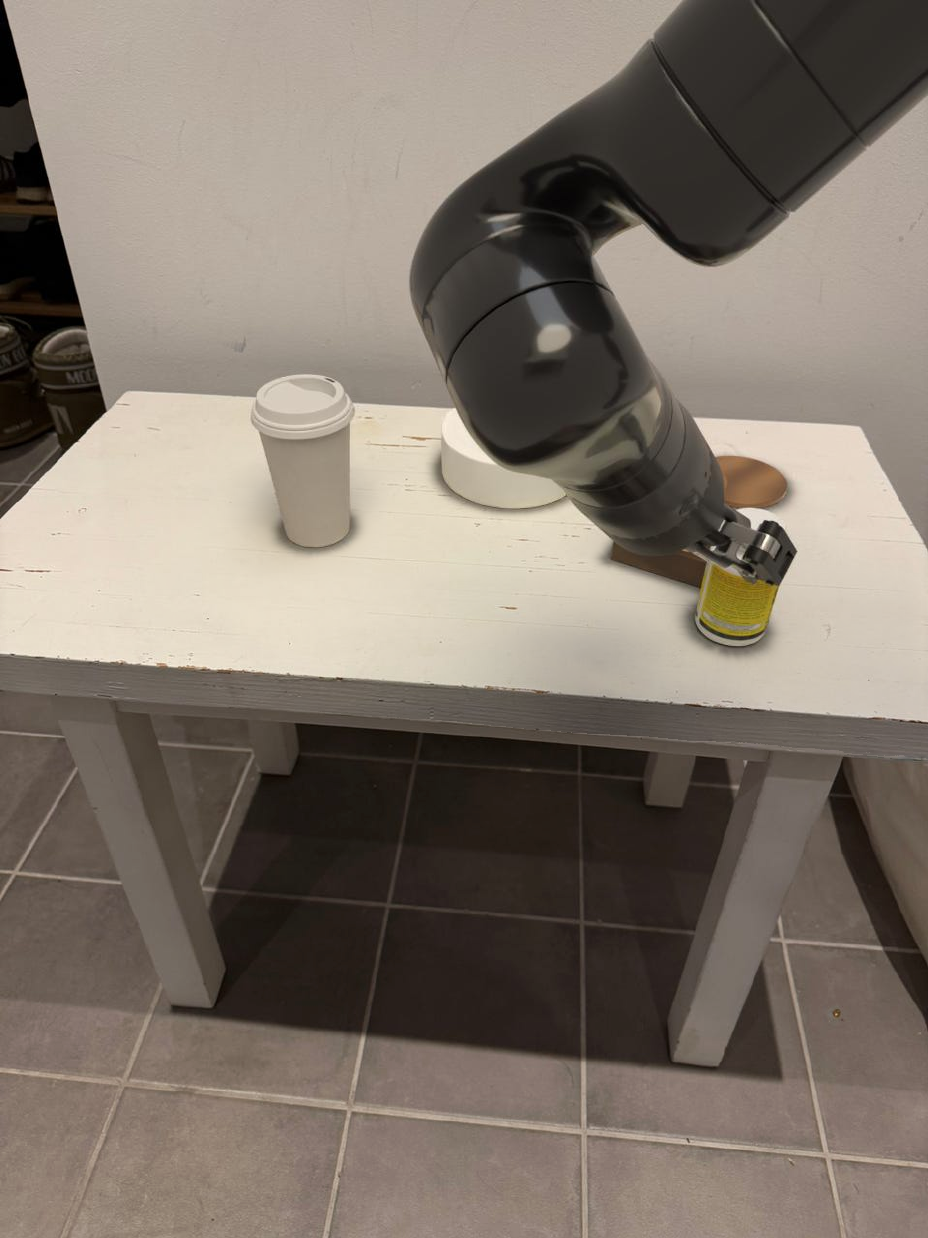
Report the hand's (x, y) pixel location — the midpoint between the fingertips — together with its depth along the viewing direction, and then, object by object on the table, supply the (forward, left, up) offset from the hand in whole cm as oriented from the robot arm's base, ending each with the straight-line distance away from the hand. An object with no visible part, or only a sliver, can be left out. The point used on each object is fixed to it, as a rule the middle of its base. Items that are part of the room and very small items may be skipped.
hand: (701, 546), depth 61 cm
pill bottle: (-2, -11, -15) cm, 18 cm away
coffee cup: (+39, -5, -15) cm, 42 cm away
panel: (+5, -20, -15) cm, 25 cm away
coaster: (+4, -35, -15) cm, 38 cm away
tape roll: (+27, -25, -15) cm, 40 cm away
